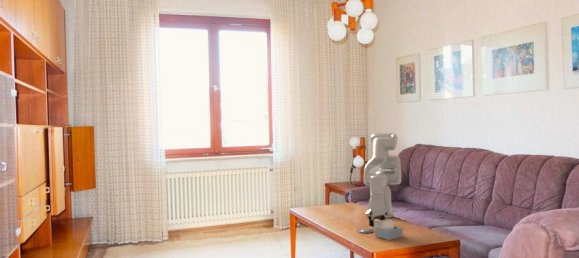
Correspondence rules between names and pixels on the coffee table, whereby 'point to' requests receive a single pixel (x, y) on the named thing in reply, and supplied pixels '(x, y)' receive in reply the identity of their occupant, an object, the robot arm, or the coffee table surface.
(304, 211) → the coffee table surface
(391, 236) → the holder
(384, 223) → the white lever knob
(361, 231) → the grey round disc
